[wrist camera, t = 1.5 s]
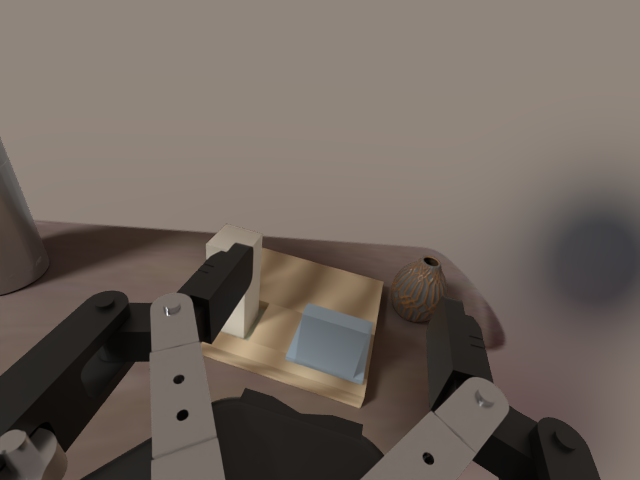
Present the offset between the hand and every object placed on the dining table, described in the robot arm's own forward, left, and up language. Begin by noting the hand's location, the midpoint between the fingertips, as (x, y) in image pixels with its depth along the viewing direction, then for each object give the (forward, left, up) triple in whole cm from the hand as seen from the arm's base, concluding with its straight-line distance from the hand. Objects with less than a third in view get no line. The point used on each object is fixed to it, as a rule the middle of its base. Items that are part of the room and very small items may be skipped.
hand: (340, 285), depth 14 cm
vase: (+9, +25, -23) cm, 35 cm away
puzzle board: (-6, +18, -23) cm, 29 cm away
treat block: (-12, +14, -22) cm, 29 cm away
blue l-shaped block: (0, +14, -20) cm, 24 cm away
